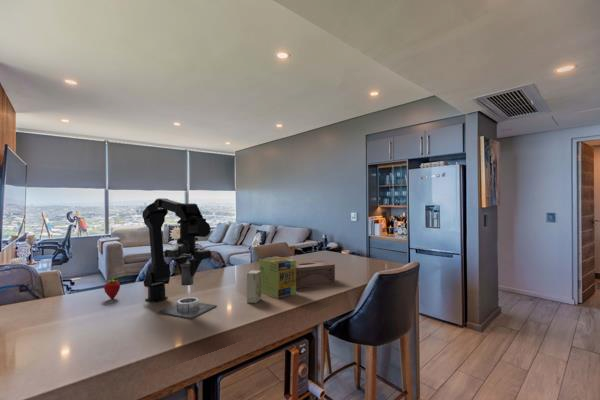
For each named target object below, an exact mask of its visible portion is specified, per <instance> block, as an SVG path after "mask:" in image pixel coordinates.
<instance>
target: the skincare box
mask: <svg viewBox="0 0 600 400" xmlns="http://www.w3.org/2000/svg"><path fill="white" fill-rule="evenodd" d="M261 299H262V292H261V271H259V270H255V269H254V270H250V271H249V272H247V273H246V303H250V304H251V303H252V304H253V303H254V304H256V303H259V301H261Z"/></svg>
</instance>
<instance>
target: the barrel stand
mask: <svg viewBox="0 0 600 400" xmlns="http://www.w3.org/2000/svg"><path fill="white" fill-rule="evenodd" d="M217 307H218V305H217V304H210V303H203V302H200V299H199V298H198V297H194V296H192V297H191V296H190V297H183V298H180V299H177V301H176V303H175V304H173V305H171V306H168V307H166V308H163V309H161V310H158V311H157V314H161V315H165V316H172V317H177V318H181V319H182V318H183V319H188V320H193V319H194V318H197V317H199V316H200V315H203V314H205V313H207V312H209V311H211V310H213V309H214V308H217Z"/></svg>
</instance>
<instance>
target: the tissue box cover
mask: <svg viewBox="0 0 600 400" xmlns="http://www.w3.org/2000/svg"><path fill="white" fill-rule="evenodd" d="M335 265H336V264H334V263H331V262H329V261H326V260H323V259H319V260H306V261H296V289H299V288H307V287H315V286H317V287H318V286H325V285H331V284H336V271H335V270H336V267H335Z"/></svg>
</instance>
